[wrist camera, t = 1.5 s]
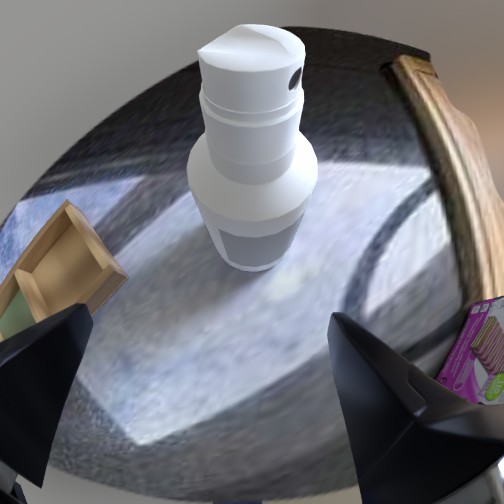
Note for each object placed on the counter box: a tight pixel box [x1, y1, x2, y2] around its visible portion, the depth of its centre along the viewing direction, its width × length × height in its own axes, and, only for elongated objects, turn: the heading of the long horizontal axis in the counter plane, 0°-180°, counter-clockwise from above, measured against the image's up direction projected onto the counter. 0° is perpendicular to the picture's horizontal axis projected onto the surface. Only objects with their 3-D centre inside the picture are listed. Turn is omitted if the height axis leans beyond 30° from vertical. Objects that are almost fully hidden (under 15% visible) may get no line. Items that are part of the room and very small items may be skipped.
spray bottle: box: [187, 24, 318, 272], centre depth 15 cm, size 7×7×18 cm
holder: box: [0, 199, 128, 342], centre depth 21 cm, size 10×19×3 cm, turn 136°
